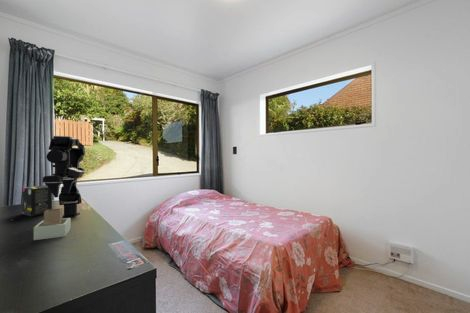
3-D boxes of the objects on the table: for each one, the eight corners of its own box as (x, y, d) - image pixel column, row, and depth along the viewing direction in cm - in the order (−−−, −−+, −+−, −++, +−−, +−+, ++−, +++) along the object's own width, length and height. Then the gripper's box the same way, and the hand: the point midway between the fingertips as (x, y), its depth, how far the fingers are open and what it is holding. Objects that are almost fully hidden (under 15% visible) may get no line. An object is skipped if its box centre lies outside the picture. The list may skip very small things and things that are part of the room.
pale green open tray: (42, 232, 91) (42, 220, 91) (70, 229, 96) (70, 217, 96) (33, 240, 83) (33, 227, 83) (65, 236, 87) (65, 224, 87)
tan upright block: (47, 231, 90) (47, 209, 90) (62, 229, 92) (62, 208, 92) (43, 234, 86) (44, 211, 86) (59, 232, 89) (60, 210, 89)
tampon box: (21, 214, 119) (21, 187, 119) (42, 210, 128) (42, 185, 128) (30, 216, 114) (31, 188, 114) (52, 212, 122) (52, 186, 122)
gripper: (71, 163, 96) (70, 198, 96) (90, 162, 115) (89, 192, 115) (41, 163, 94) (41, 199, 94) (65, 162, 112) (65, 192, 112)
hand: (62, 195), depth 104 cm, fingers open, 9 cm apart
